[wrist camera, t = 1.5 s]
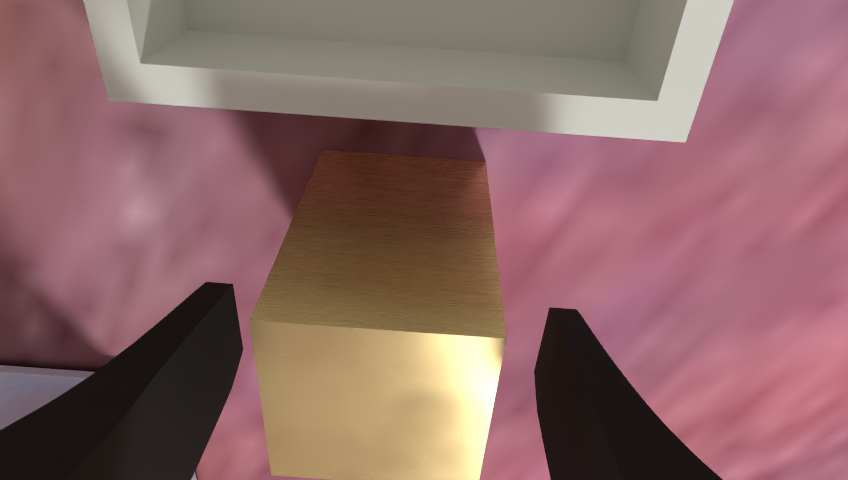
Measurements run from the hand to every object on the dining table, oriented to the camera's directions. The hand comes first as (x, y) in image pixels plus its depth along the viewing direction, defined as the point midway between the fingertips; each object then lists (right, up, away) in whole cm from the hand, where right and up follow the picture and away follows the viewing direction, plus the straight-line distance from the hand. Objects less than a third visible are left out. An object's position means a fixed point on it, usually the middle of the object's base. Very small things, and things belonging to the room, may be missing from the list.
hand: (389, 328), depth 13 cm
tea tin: (0, +3, +4) cm, 5 cm away
